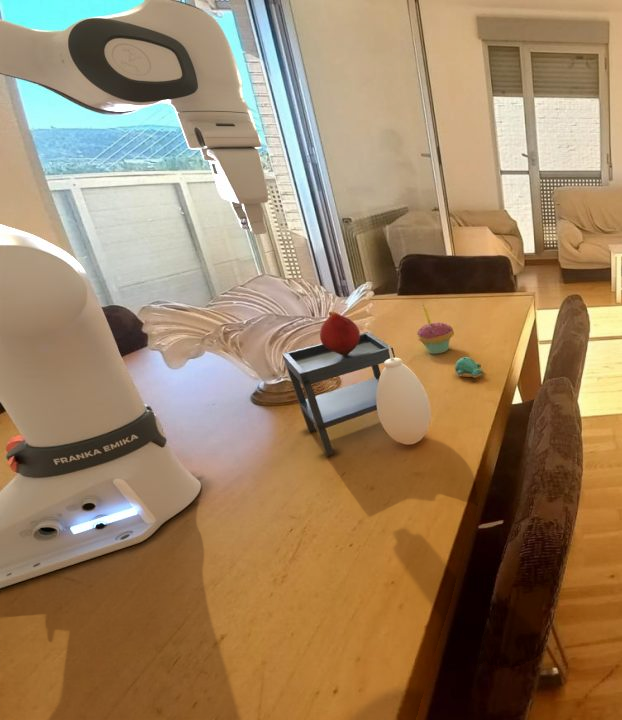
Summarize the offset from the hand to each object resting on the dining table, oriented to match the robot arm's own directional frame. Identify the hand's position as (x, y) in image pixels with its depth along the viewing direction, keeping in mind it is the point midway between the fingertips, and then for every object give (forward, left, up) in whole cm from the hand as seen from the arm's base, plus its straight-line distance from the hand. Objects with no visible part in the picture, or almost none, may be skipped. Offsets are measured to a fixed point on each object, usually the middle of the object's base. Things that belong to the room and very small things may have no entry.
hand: (253, 231), depth 76 cm
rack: (+5, -10, -35) cm, 37 cm away
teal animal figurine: (+30, -5, -35) cm, 46 cm away
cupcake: (+32, +15, -35) cm, 50 cm away
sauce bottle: (+9, -22, -35) cm, 42 cm away
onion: (+6, -10, -21) cm, 24 cm away
